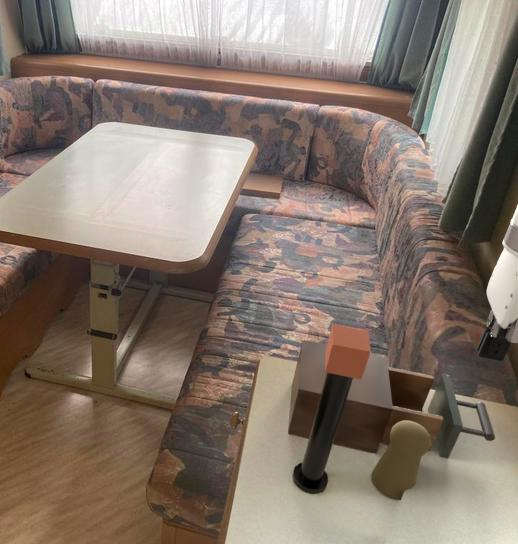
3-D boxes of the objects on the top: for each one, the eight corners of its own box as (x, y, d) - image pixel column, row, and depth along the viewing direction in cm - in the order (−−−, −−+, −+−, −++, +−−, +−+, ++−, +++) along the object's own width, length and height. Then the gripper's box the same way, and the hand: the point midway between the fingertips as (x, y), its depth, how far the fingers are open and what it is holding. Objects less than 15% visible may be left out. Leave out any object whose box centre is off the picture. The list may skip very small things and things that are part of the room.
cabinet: (372, 399, 99) (386, 356, 94) (376, 454, 89) (393, 409, 84) (292, 382, 102) (302, 339, 97) (287, 433, 91) (298, 389, 86)
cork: (375, 497, 82) (396, 444, 76) (367, 463, 87) (386, 411, 81) (418, 503, 82) (443, 449, 76) (407, 468, 87) (430, 416, 81)
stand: (332, 477, 85) (368, 362, 73) (319, 500, 81) (356, 384, 70) (300, 460, 87) (331, 347, 76) (286, 482, 84) (316, 366, 72)
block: (360, 357, 74) (368, 330, 72) (361, 379, 70) (370, 351, 68) (325, 350, 75) (332, 323, 72) (324, 372, 71) (332, 344, 69)
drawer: (471, 418, 95) (488, 383, 91) (486, 472, 86) (506, 435, 82) (358, 394, 99) (369, 359, 95) (360, 443, 89) (373, 407, 85)
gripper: (595, 276, 65) (532, 396, 74) (554, 220, 77) (505, 330, 87) (522, 264, 66) (470, 384, 76) (494, 212, 79) (452, 320, 88)
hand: (489, 355), depth 81 cm, fingers closed
